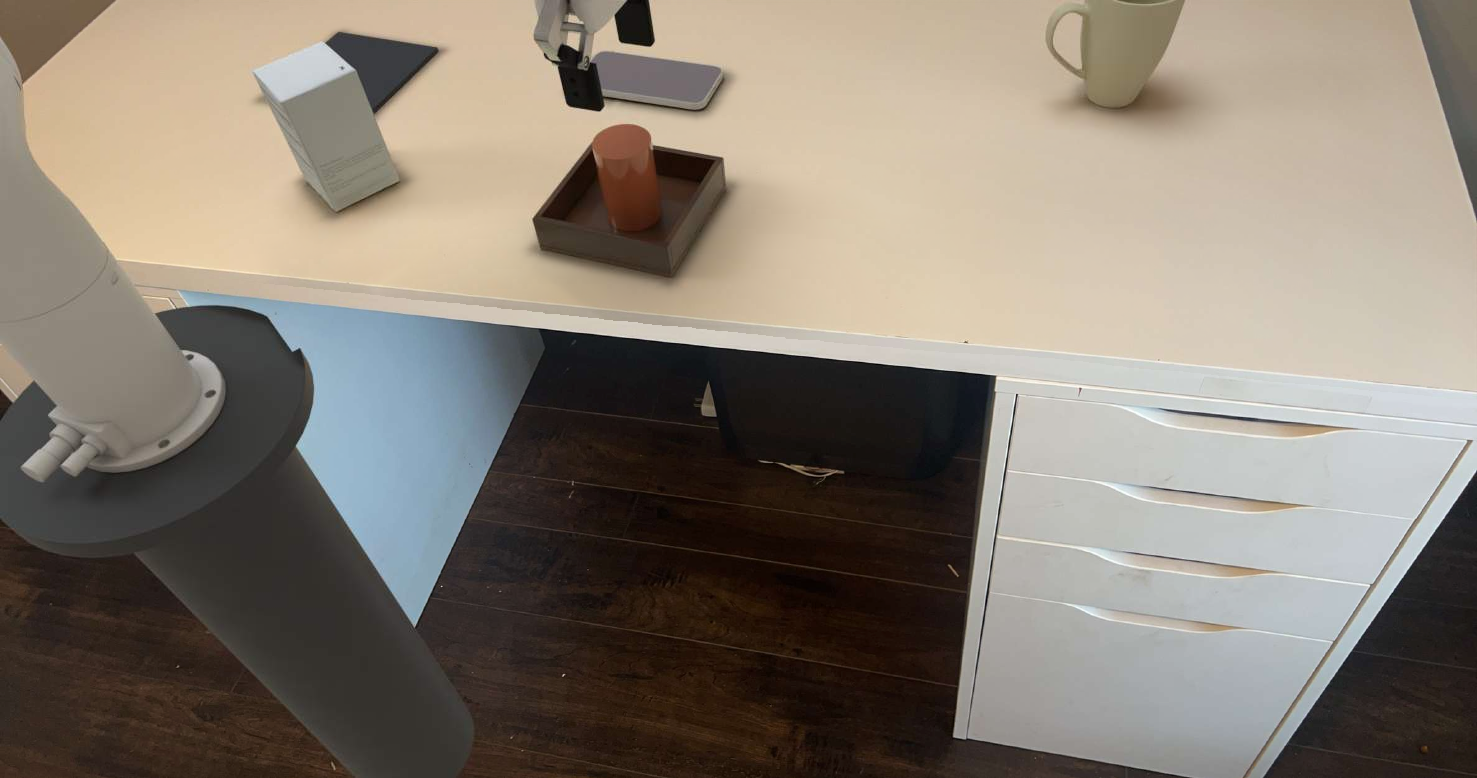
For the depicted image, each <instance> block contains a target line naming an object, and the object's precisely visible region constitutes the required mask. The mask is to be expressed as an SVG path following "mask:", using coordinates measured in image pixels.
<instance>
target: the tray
mask: <svg viewBox="0 0 1477 778" xmlns="http://www.w3.org/2000/svg"><path fill="white" fill-rule="evenodd" d="M592 142H593V140H592V141H591V143H590V144H589V145H588V146H587V148H586V149H585V151H583V153H582V154H581V155H580V157H579V158H578V159H577V160H576V162H575V163H574V164H573V166H572V167H571V168H570V170H569V171H568V172H567V173H566V175H565V176H564V177H563V178H562V179H561V181H560V182H559V184H558V185H557V187H556V188H555V189H554V190H553V191H552V193H551V194H550V195H549V197H548V198H547V199H546V200H545V202H544V203H543V204H542V205H541V207H540V208H539V209H538V211H537V212H536V213H535V215H534V216H533V217H532V218H531V219H532V224H533V227H534V231H535V235H536V238H537V241H538V245H539V249H540V250H545V251H548V252H553V253H557V254H563V255H567V256H571V257H576V258H581V259H586V260H589V261H594V262H600V263H604V264H608V265H612V266H618V267H622V268H626V269H627V268H628V269H631V270H635V271H640V272H645V273H649V274H654V275H659V276H664V277H667V278H673V276H674V275H675V274H676V271H677V270H678V268H679V266H680V265H681V263H682V262H683V260H684V258H685V256H686V254H687V253H688V251H689V250H690V248H691V247H692V245H693V244H694V242H695V240H696V238H697V237H698V235H699V234H700V232H701V231H702V228H703V227H704V225H705V223H706V222H707V220H708V219H709V217H710V215H711V214H712V212H713V210H714V208H716V205H717V204H718V202H719V201H720V199H721V197H722V196H723V194H724V193H725V190H726V189H727V181H726V169H725V159H724V157H723V156H718V155H711V154H706V153H700V152H695V151H691V150H690V151H689V150H683V149H677V148H673V147H666V146H661V145H655V144H652V146H653V152H654V159H655V165H656V172H657V178H658V185H659V191H660V198H661V204H662V215H661V217H660V219H659V220H658V221H657V222H656V223H655V224H654V225H652V226H650V227H648V228H646V229H643V230H639V231H623V230H619V229H616V228H615V227H613V226H612V225H611V224H610V223H609V222H608V220H607V215H606V211H605V206H604V201H603V196H602V191H601V187H600V182H599V177H598V172H597V167H596V163H595V158H594V153H593V148H592Z"/></svg>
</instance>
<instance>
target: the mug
mask: <svg viewBox="0 0 1477 778" xmlns="http://www.w3.org/2000/svg"><path fill="white" fill-rule="evenodd" d="M1185 2H1186V0H1084V3H1083V4H1081V3H1076V2H1066V3H1063V4H1060V5H1058V6H1057V7H1056V8H1055V9H1054V10H1053V11H1052V13H1050V16H1049V18H1048V21H1047V24H1046V28H1045V44H1046V48H1047V49H1048V51H1049V53H1050V54H1051V56H1052V57H1053V58H1054V59H1055V61H1056V62H1058V63H1059V64H1060V65H1061V66H1062V67H1063V68H1064V69H1065V70H1067V71H1068V72H1070V73H1071V74H1073V75H1074V76H1075V77H1077V78H1080V79H1083V83H1084V91H1085V96H1086V97H1087V99H1088V100H1089V101H1090V102H1091V103H1093V104H1095V105H1097V106H1100V107H1103V108H1110V109H1118V108H1125V107H1127V106H1129V105H1132V103H1134V101H1135V100H1136V98H1137V97H1138V95H1139V93H1140V92H1141V91H1142V89H1143V88H1144V86H1145V85H1146V84H1147V82H1148V80H1149V79H1150V77H1151V76H1153V75H1152V74H1153V73H1154V72H1155V70H1156V68H1157V67H1158V66H1159V64H1160V62H1161V61H1162V59H1163V58H1164V55H1165V53H1166V51H1167V50H1168V47H1169V45H1170V43H1171V39H1172V37H1173V35H1174V32H1175V29H1176V26H1177V24H1178V21H1179V19H1180V16H1181V13H1182V10H1183V7H1184V5H1185ZM1068 14H1076V15H1079V16H1080V17H1081V27H1080V37H1079V46H1080V47H1079V49H1080V60H1081V62H1080V63H1081V68H1079V69H1078V68H1076V67H1075V66H1073V65H1072V64H1071V63H1070V62H1068V61H1067V60H1066V59H1065V58H1064V57H1063V56H1062V55H1061V54H1059V52H1058V51H1057V50H1056V48H1055V46H1054V36H1055V32H1056V28H1057V26H1058V25H1059V23H1060V21H1061V20H1062V19H1063V17H1065V16H1066V15H1068Z"/></svg>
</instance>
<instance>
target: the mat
mask: <svg viewBox="0 0 1477 778" xmlns="http://www.w3.org/2000/svg"><path fill="white" fill-rule="evenodd" d="M324 43H325V44H326V45H327V46H329V47H330V48H331V49H332V50H333V51H334V52H335V53H337V54H338V55H339V56H340V57H341V58H342V59H343V60H344V61H346V62H347V63H348V64H349V65H350V66H351V67H353V68H354V69H355V70H356V71H357V74H358V76H359V79H360V81H361V84H362V86H363V89H364V91H365V94H366V96H367V99H368V101H369V104H370V106H371V109H372V111H373V114H374V115H375V113H376V112H377V111H378V110H380V108H381V107H382V106H383V105H384V104H385V103H387V101H388V100H390V99H391V98H392V97H393V95H395V94H396V93H397V92H398V91H399V90H400V89H401V88H402V87H403V86H404V85H405V84H406V83H407V82H408V81H409V80H411V78H412V77H414V75H416V73H417V72H419V71H420V70H421V68H422V67H424V66H425V65H426V64H427V63H428V62H429V61H430V60H431V59H432V58H433V57H434V56H435V55H436V54H437V53H439V48H438V47H437V46H432V45H424V44H419V43H413V42H406V41H400V40H393V39H387V38H380V37H374V36H368V35H362V34H357V33H349V32H343V31H337V32H336V33H335V34H334V35H333V36H331V37H330V38H329V39H328V40H327V41H325V42H324Z"/></svg>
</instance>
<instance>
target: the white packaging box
mask: <svg viewBox="0 0 1477 778" xmlns="http://www.w3.org/2000/svg"><path fill="white" fill-rule="evenodd" d="M325 43H326V42H324V41H319V42H317V43H314V44H312V45H310V46H308V47H307V46H306V47H305V48H303V49H301V50H298V51H295V52H294V53H291V54H287V55H286V56H284V57H281V58H278V59H276V60H274V61H271V62H269V63H266V64H265V65H262V66H260V67H257V68H254V69H252V70H251V72H252V74H253V77H254V79H255V81H256V83H257V84H258V87H259V88H260V90H261V93H262V94H263V97H264V99H265V101H266V103H267V105H268V107H269V110H270V111H271V113H272V115H273V117H274V119H275V121H276V123H277V125H278V127H279V129H280V131H281V133H282V135H283V137H284V140H285V141H286V144H287V145H288V148H289V150H290V152H291V154H292V156H293V158H294V160H295V162H296V164H297V166H298V169H299V171H300V172H301V174H302V176H303V178H304V180H305V181H306V182H307V183H308V185H310V186H311V188H312V189H313V190H315V192H316V193H317V194H318V195H319V196H320V197H321V198H322V199H323V201H324V202H325V203H326V204H327V205H328V206H329V207H330V208H331V209H332V210H333V211H334V212H335V213H338V212H339V211H341V210H344V209H345V208H347V207H350V206H351V205H354V204H355V203H357V202H360V201H361V200H363V199H366V198H367V197H370V196H372V195H373V194H376V193H378V192H380V191H382V190H383V189H386V188H388V187H390V186H392V185H394V184H397V183H398V182H400V181H401V179H400V176H399V174H398V172H397V168H396V166H395V164H394V162H393V158H392V157H391V153H390V152H389V149H388V147H387V144H386V142H385V139H384V137H383V134H382V132H381V129H380V126H379V124H378V121H377V119H376V116H375V113H374V114H373V111H372V109H371V106H370V104H369V101H368V99H367V96H366V94H365V91H364V89H363V86H362V84H361V81H360V79H359V76H358V74H357V71H356V70H355V69H354V68H353V67H351V66H350V65H349V64H348V63H347V62H346V61H344V60H343V59H342V58H341V57H340V56H339V55H338V54H337V53H335V52H334V51H333V50H332V49H331V48H330V47H329V46H327V45H326V44H325Z"/></svg>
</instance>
